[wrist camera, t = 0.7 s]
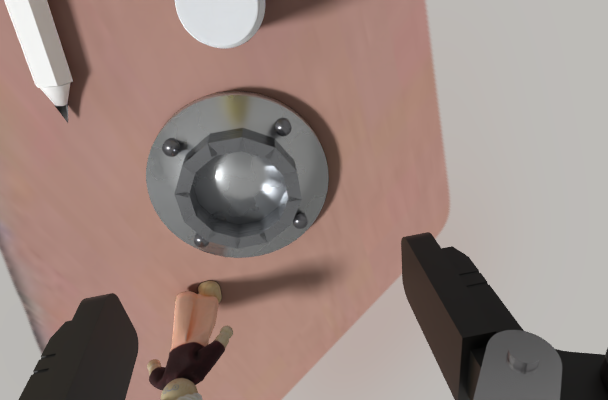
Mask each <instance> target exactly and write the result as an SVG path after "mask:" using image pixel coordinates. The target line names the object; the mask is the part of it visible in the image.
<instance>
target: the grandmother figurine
mask: <svg viewBox="0 0 608 400" xmlns="http://www.w3.org/2000/svg"><path fill="white" fill-rule="evenodd" d="M198 291H199V294H196V293H194V292H190V291H187V292H182V293H180V294H179V295H177V297H176V299H175V302H176V303H175V312H174V326H173V337H172V347H171V350H170V353H169V359H168V362H167V365H166V368H164V367H161V364H160V361H158V360H156V359H154V360H151V361H150V362H149V363H148V365H147V368H148V370H149V375H150V377H149V381H150V383H151V384H152V385H153V386H154V387H156V388H158V389H160V390H163V392H162V394H161V400H202V396H201V395H200V394H199V393H198V392H197V388H196V386H195V385H196V384H198V383H199V382H201V381H202V380H203V379H204V377H205V376H206V375H207V373H208V372H209V371H210V370H211V368H212V367H213V366H214V365H215V363H216V362H217V361H218V359H219V358H220V356H221V355H222V354H223V352H224V351H225V347H226V345H227V344H228V342H229V338H230V337H231V336H232V334H233V330H232V328H231V327H229V326H224V327H223V328H222V329H221V331H220V334H219V335H218V336H217V337H216V339H215V340H214V341H213V342H212V343H211V344H209V345H208V341H209V338H210V336H211V333H212V330H213V328H214V326H215V322H216V317H217V309H218V304H219V302H220V301H221V299H222V296H221V290H220V286H219V285H218V284H217V283H216V282H214V281H206V282H203V283H201V284H200V285H199V287H198Z"/></svg>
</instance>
